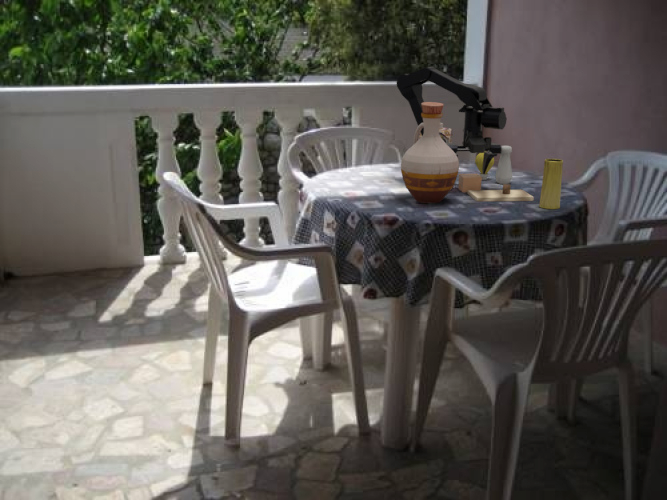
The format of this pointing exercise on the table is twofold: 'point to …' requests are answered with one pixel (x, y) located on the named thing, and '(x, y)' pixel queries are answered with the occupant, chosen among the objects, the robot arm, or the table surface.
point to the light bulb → (480, 165)
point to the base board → (500, 195)
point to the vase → (551, 184)
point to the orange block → (469, 182)
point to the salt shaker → (504, 166)
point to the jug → (429, 160)
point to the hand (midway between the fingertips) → (469, 174)
